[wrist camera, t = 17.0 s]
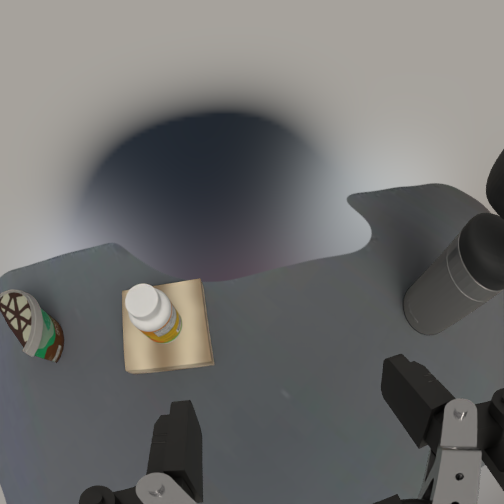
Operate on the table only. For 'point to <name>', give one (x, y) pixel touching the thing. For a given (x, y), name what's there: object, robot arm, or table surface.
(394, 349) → the table surface
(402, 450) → the table surface
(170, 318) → the supplement bottle
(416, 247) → the table surface
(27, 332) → the food container
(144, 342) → the base block
